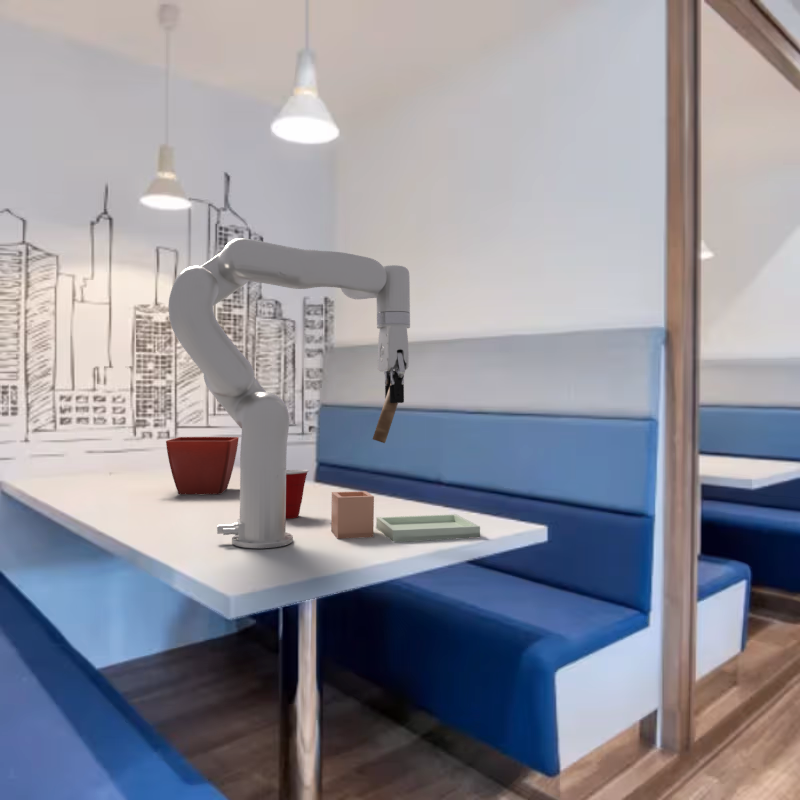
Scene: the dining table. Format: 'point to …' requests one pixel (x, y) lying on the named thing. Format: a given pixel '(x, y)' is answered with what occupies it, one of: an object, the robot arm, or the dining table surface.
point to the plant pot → (202, 463)
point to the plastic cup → (294, 491)
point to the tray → (426, 527)
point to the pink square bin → (352, 514)
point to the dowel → (385, 419)
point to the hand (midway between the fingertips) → (394, 401)
